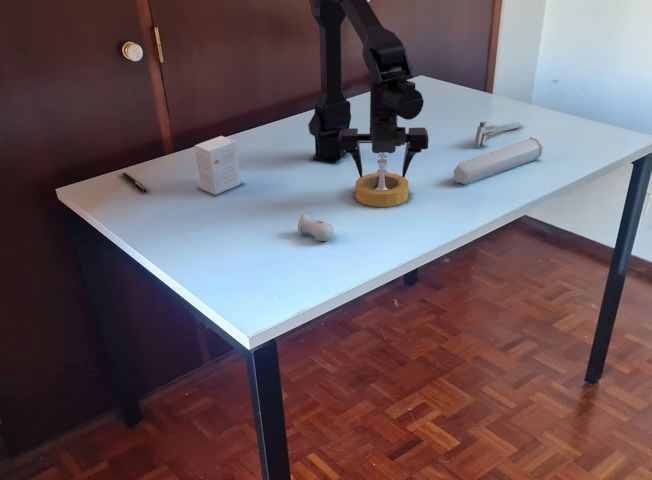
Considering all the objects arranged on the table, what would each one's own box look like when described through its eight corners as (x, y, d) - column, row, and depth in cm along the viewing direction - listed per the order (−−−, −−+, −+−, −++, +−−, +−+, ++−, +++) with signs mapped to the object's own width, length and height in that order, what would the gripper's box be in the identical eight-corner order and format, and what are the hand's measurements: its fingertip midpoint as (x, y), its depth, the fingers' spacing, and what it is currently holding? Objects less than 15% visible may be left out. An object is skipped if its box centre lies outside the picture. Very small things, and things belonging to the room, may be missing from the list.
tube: (468, 173, 157) (546, 145, 167) (453, 159, 159) (530, 132, 170) (461, 192, 161) (537, 164, 171) (446, 178, 163) (522, 151, 174)
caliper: (478, 148, 178) (481, 124, 174) (474, 147, 179) (477, 123, 175) (520, 126, 190) (524, 102, 186) (517, 125, 190) (520, 102, 187)
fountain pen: (119, 175, 172) (118, 169, 171) (124, 173, 173) (123, 167, 172) (144, 194, 163) (142, 188, 162) (148, 193, 163) (147, 187, 162)
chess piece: (386, 202, 155) (387, 158, 149) (366, 197, 158) (367, 154, 152) (396, 193, 159) (398, 150, 153) (376, 189, 161) (377, 146, 155)
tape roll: (347, 201, 156) (346, 188, 155) (369, 181, 164) (369, 169, 163) (395, 211, 152) (395, 198, 150) (415, 190, 160) (416, 177, 158)
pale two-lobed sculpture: (337, 244, 143) (321, 246, 140) (308, 231, 148) (292, 233, 144) (342, 223, 142) (325, 225, 138) (312, 211, 146) (296, 212, 142)
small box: (226, 178, 169) (221, 134, 162) (241, 184, 165) (237, 140, 159) (199, 188, 164) (193, 144, 158) (214, 195, 161) (208, 151, 155)
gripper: (337, 119, 140) (338, 192, 150) (432, 118, 139) (427, 192, 148) (339, 101, 149) (340, 171, 158) (428, 99, 148) (424, 170, 157)
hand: (382, 176), depth 155 cm, fingers open, 9 cm apart
